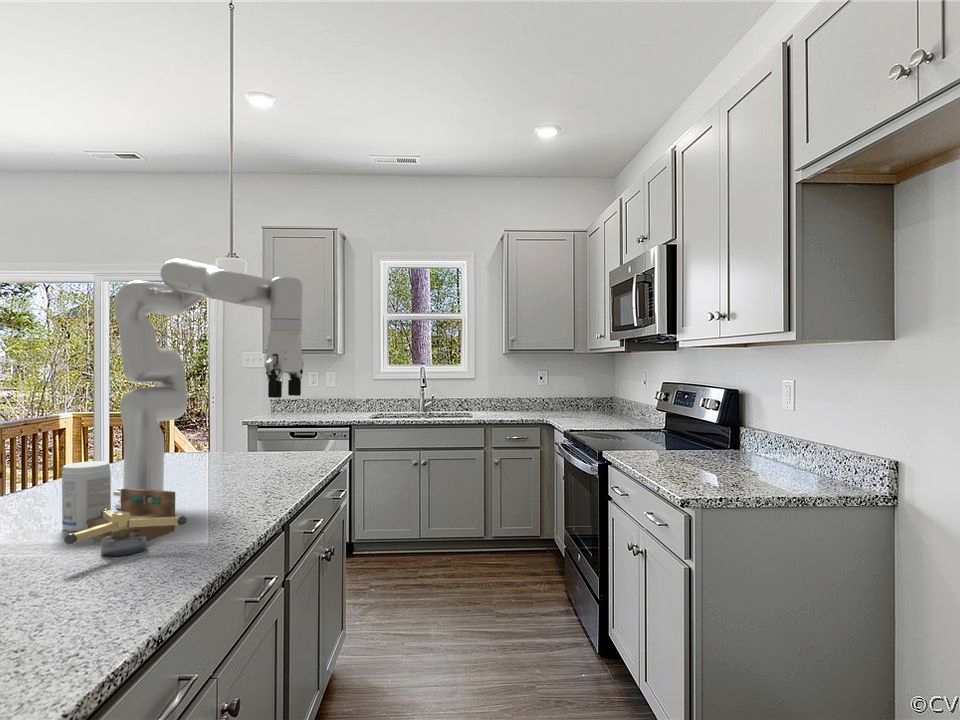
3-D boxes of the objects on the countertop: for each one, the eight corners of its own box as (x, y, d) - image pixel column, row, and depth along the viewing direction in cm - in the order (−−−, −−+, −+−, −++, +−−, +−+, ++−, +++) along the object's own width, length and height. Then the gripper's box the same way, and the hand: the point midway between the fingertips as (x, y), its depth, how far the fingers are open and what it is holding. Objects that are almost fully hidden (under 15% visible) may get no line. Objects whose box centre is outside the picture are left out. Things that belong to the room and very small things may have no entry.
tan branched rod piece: (19, 563, 115) (20, 525, 115) (105, 536, 134) (106, 502, 134) (112, 575, 110) (113, 534, 110) (188, 544, 128) (189, 510, 128)
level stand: (87, 537, 133) (88, 496, 133) (124, 526, 142) (125, 487, 142) (139, 543, 129) (140, 501, 129) (174, 531, 139) (175, 491, 139)
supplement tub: (112, 519, 148) (113, 459, 148) (108, 529, 139) (109, 465, 139) (65, 524, 144) (66, 462, 144) (57, 534, 135) (58, 468, 135)
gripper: (288, 329, 159) (288, 394, 159) (253, 325, 142) (251, 398, 142) (315, 329, 158) (314, 395, 158) (282, 325, 141) (281, 398, 141)
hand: (284, 396), depth 150 cm, fingers open, 9 cm apart
